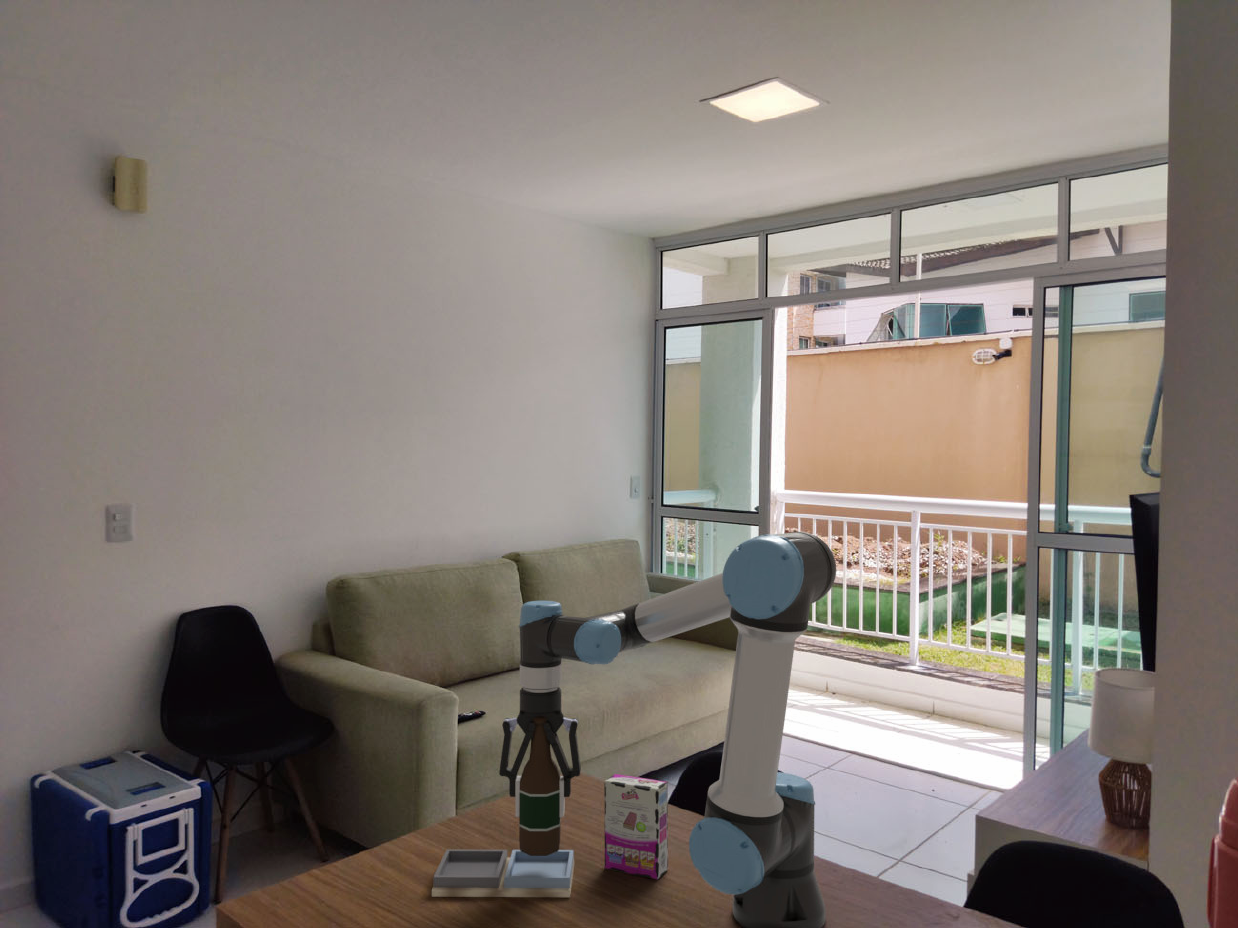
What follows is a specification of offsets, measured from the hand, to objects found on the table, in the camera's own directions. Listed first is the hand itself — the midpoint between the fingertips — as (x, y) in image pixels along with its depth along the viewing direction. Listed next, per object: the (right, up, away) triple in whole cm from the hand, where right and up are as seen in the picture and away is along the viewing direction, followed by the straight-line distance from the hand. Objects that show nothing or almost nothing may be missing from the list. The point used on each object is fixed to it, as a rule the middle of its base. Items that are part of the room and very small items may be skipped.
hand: (540, 813), depth 160 cm
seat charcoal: (-12, -11, 0) cm, 16 cm away
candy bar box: (+17, -12, +4) cm, 22 cm away
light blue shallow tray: (0, -11, 0) cm, 11 cm away
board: (-6, -12, 0) cm, 13 cm away
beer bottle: (0, -6, 0) cm, 6 cm away
